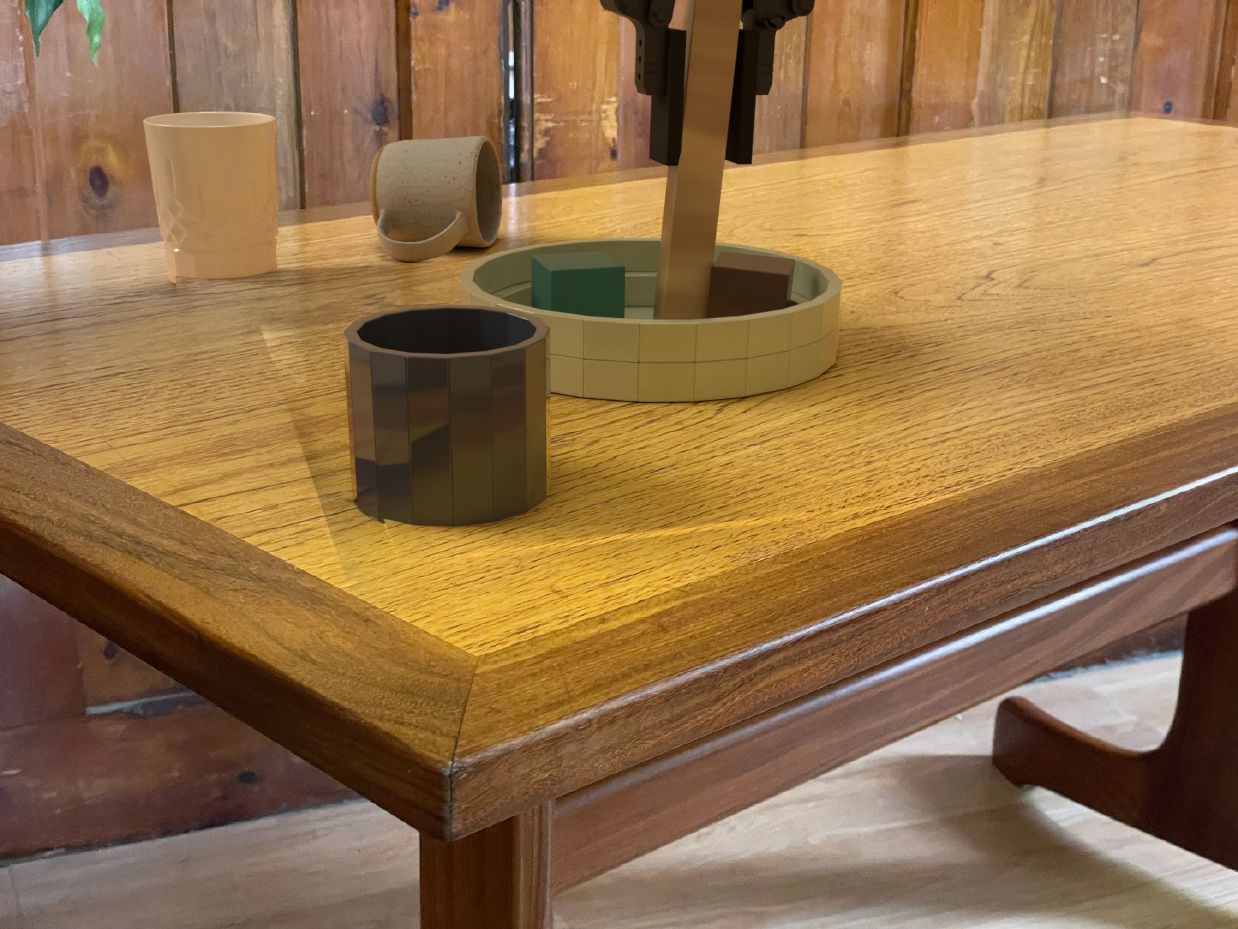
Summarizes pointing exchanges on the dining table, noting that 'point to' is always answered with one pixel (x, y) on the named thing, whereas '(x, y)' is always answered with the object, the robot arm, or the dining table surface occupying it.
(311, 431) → the dining table surface
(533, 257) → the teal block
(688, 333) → the bowl
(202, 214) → the tan cup
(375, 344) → the stick cup
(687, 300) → the brown stick
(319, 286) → the dining table surface
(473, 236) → the ceramic mug
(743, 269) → the walnut block
